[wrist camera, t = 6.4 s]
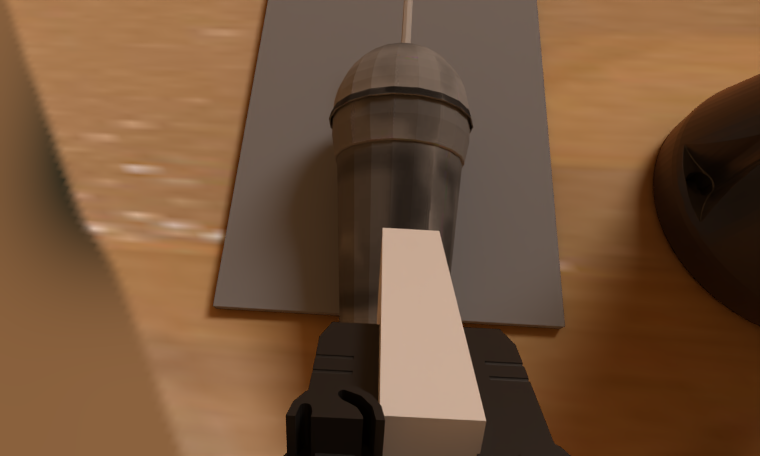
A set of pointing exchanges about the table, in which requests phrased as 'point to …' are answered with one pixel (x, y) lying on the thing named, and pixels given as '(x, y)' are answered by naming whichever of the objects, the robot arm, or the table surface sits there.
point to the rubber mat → (319, 169)
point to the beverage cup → (395, 159)
